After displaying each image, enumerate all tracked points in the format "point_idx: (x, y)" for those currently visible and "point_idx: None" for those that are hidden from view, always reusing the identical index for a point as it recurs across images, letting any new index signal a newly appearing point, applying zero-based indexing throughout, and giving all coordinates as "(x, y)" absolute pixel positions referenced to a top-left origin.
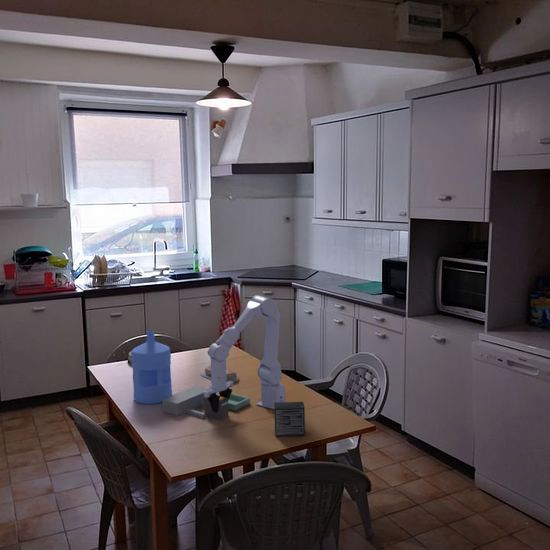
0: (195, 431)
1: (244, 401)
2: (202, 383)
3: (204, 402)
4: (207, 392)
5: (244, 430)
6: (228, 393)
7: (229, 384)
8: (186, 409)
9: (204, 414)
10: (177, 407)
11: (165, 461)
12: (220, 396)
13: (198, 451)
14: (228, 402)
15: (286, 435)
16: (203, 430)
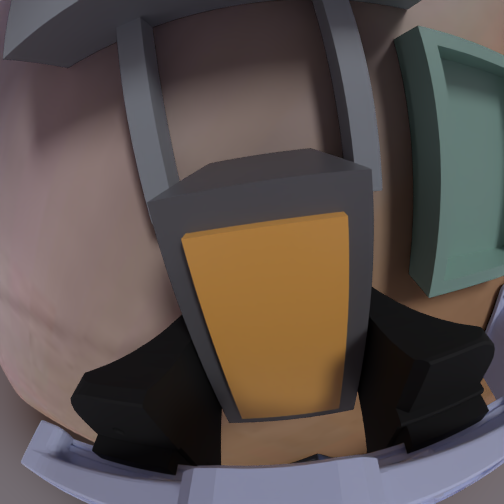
0: (68, 317)
1: (494, 275)
2: None
3: (177, 185)
4: (58, 487)
5: (244, 428)
6: (368, 451)
7: (439, 500)
8: (117, 38)
9: None
10: (26, 61)
11: (2, 364)
12: (336, 370)
13: (61, 397)
14: (446, 223)
15: None
16: (99, 336)
